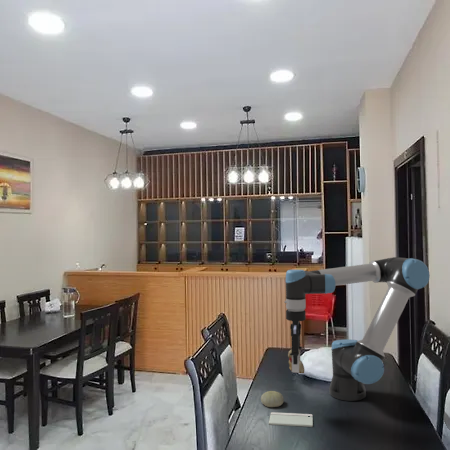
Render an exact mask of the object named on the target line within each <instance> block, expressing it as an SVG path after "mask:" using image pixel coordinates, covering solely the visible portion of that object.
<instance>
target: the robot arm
mask: <svg viewBox="0 0 450 450" xmlns="http://www.w3.org/2000/svg"><path fill="white" fill-rule="evenodd" d="M429 280H430V271H429V268H428V266H427V265H426V263H425V262H423V261H422V260H420V259H417V258H413V257H411V258H410V257H409V258H406V257H398V256H396V257H395V256H394V257H393V256H392V257H388V258H384V259H377V260H371V261H370V262H369V263H365V264H364V263H363V264H356V265H348V266H339V267H333V268H331V267H330V268H325V269H316V270H309V271H308V270H304V269H288V270H287V271H286V273H285V300H284V301H283V302H284V303H285V319H286V320H287V321H289V322H292V323H291V324H290V326H289V327H290V336H291V349H292V353H290V355H292V371H291V373H295V374H300V373H299V359H300V360H301V350H302V348H303V347H302V346H301V334H302V333H301V332H302V331H301V329H302V323H301V322H304V321H306V317H307V316H306V315H307V314H306V310H305V309H307V308H306V307H307V306H306V305H307V304H306V303H307V302H306V295H311V294H312V295H315V294H323V295H324V294H325V295H326V294H332V293H334V292H335V289H336V286H343V285H350V284H351V285H352V284H358V283H359V284H360V283H367V282H368V283H369V282H373V283H375V284H376V283H378V284H379V283H385V284H387V290H386V292H385V294H384V296H383V298H382V300H381V301H380V304H379V306H378V308H377V309H376V312H375V314H374V316H373V317H372V319H371V322H370V324H369V326H368V328H367V329H366V332H365V333H364V336H363V338H362V339H360V340H356V339H350V338H349V339H347V338H346V339H336V340H333V341H332V343H331V360H332V362H331V363H332V364H331V365H332V377H331V381H330V385H329V389H328V390H329V395H330V396H331V397H333V398H334V399H337V400H342V401H347V402H348V401H349V402H353V401H354V402H355V401H360V400H363V399H365V398H366V396H367V393H366V392H367V389H366V386H365V385H371V384H375V383H377V382H378V381H380V379H382V377H383V375H384V373H385V367H384V362H383V361H384V358H385V357H386V356H385V353H384V349H385V347H386V346H387V344H388V341H389V339H390V337H391V335H392V333H393V331H394V329H395V328H396V325H397V323H398V321H399V320H400V318H401V315H402V314H403V311H404V309H405V307H406V304H407V303H408V300H409V299H410V298H412V297H415V296H416V294H417V293H418V290H420V289H423V288H425V287H426V286H427V285H428V284H429Z"/></svg>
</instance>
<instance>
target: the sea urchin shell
mask: <svg viewBox="0 0 450 450" xmlns="http://www.w3.org/2000/svg"><path fill="white" fill-rule="evenodd" d="M260 401H261V404H263V405H264V406H265V407H267V408H278V407H280V406H282V405H283V403H284V401H285V400H284V396H283V394H282V393H281V392H279V391H276V390H268V391H266V392H264V393H262V394H261V396H260Z"/></svg>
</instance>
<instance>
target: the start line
mask: <svg viewBox="0 0 450 450" xmlns="http://www.w3.org/2000/svg"><path fill="white" fill-rule="evenodd" d="M270 415H288V416H310V417H313V414H311V413H310V414H309V413H295V412H275V411H273V412H272V411H271V412H270Z"/></svg>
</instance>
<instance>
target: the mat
mask: <svg viewBox="0 0 450 450" xmlns="http://www.w3.org/2000/svg"><path fill="white" fill-rule="evenodd" d="M313 421H314V419H313V417H308V416H288V415H271V414H270V416H269V421H268V425H271V426H272V425H273V426H288V427H289V426H290V427H305V428H306V427H307V428H309V427H310V428H314V427H313V426H314V424H313V423H314V422H313Z"/></svg>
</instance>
